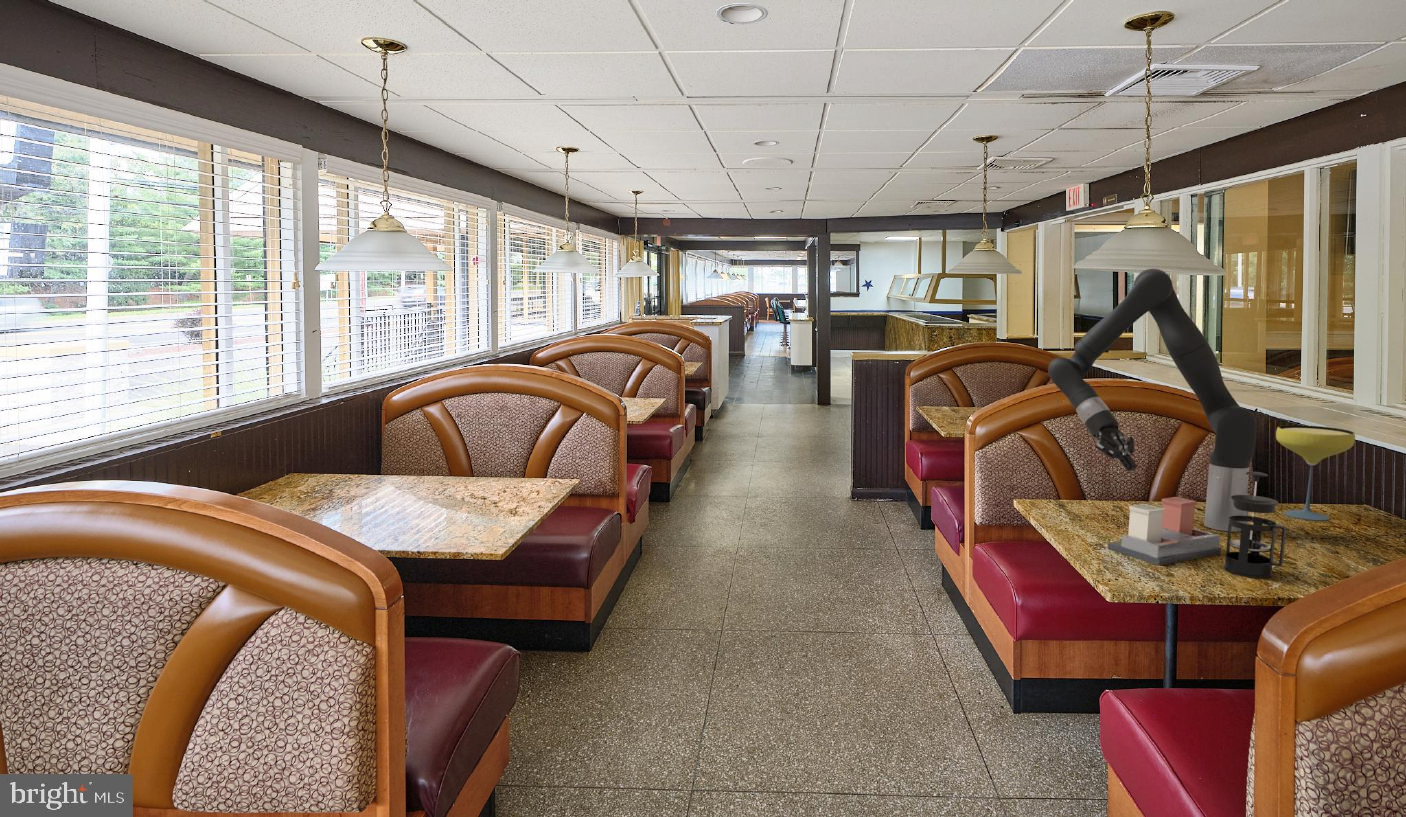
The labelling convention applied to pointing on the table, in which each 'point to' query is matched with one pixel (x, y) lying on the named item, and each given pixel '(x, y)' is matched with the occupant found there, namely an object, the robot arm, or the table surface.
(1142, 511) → the white tall block
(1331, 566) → the table surface
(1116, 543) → the dark grey tray
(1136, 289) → the robot arm
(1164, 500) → the pink boxy piece
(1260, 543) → the french press
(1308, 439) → the cocktail glass
